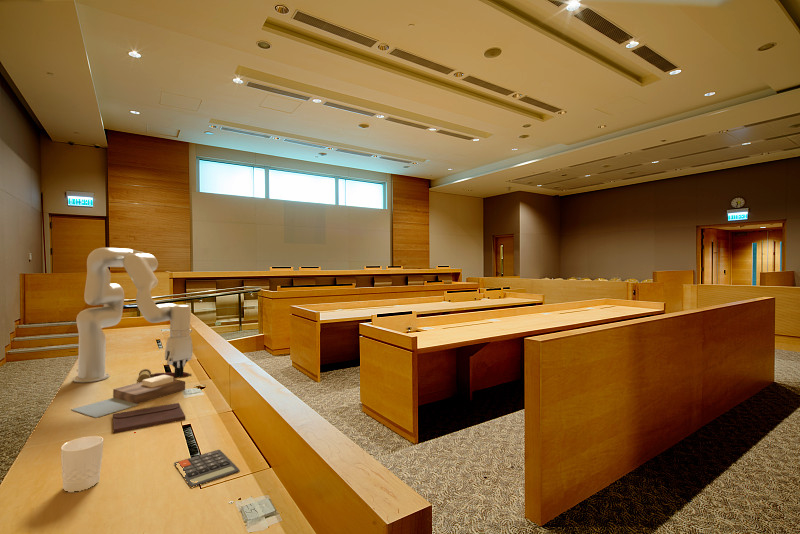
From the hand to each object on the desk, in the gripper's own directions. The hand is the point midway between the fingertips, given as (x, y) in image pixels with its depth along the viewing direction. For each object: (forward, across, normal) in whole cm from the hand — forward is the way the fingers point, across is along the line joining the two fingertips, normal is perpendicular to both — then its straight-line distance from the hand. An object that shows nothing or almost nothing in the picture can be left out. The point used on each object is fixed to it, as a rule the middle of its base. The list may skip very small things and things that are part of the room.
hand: (178, 376), depth 169 cm
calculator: (+5, +42, +68) cm, 80 cm away
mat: (+4, +29, +1) cm, 30 cm away
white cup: (+4, +60, +49) cm, 78 cm away
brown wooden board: (+4, +12, 0) cm, 13 cm away
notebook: (+5, +28, +24) cm, 37 cm away
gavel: (+5, -4, -15) cm, 16 cm away
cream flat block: (+1, +9, 0) cm, 9 cm away
